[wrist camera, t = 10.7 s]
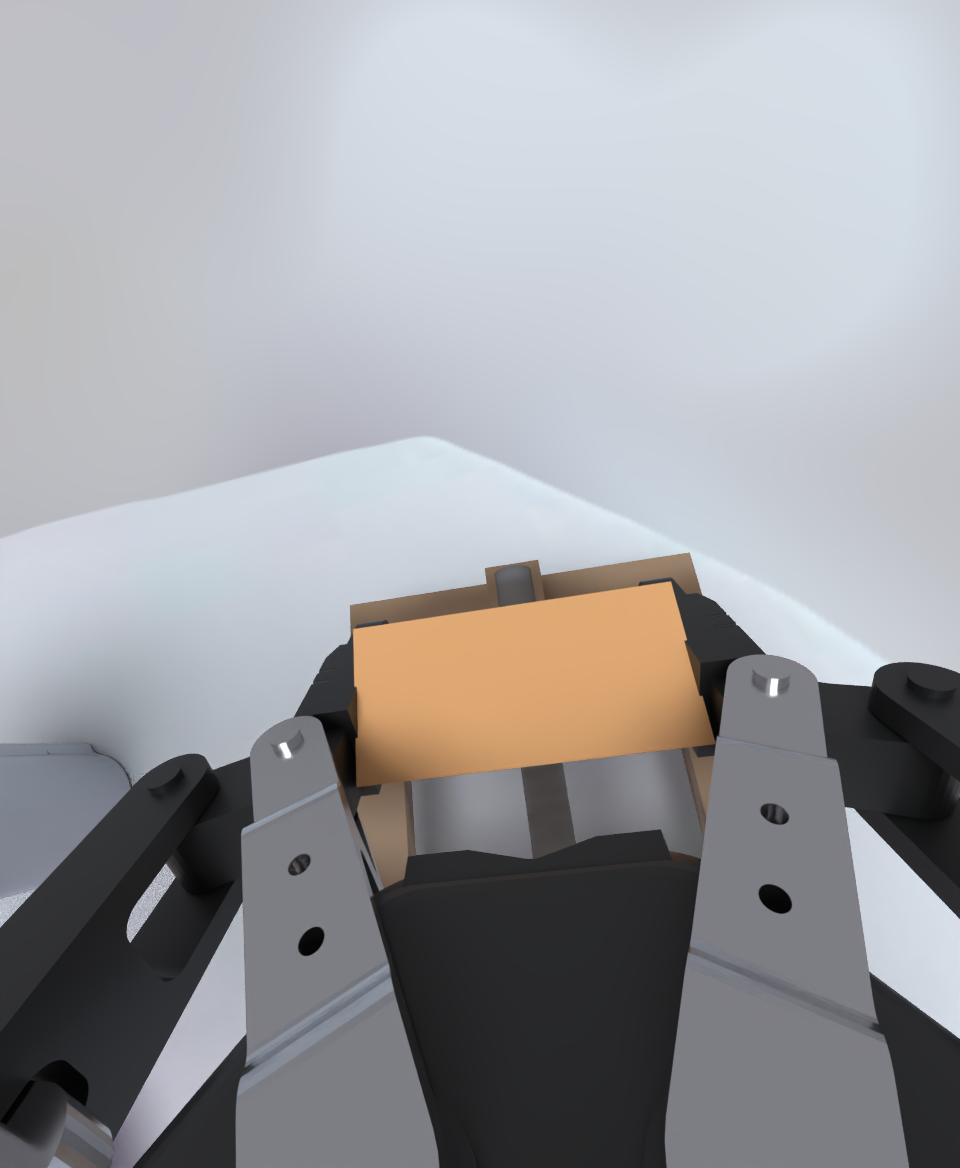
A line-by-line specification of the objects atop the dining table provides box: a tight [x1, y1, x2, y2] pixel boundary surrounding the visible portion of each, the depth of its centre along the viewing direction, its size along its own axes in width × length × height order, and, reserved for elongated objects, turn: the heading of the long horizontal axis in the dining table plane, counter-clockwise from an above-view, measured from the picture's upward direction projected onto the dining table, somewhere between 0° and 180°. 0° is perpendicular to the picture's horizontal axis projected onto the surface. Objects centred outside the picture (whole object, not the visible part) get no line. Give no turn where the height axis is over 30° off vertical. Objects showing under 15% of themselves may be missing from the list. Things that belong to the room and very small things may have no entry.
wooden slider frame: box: [350, 553, 714, 888], centre depth 28 cm, size 22×22×14 cm
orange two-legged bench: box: [353, 581, 716, 787], centre depth 14 cm, size 3×6×11 cm, turn 97°
